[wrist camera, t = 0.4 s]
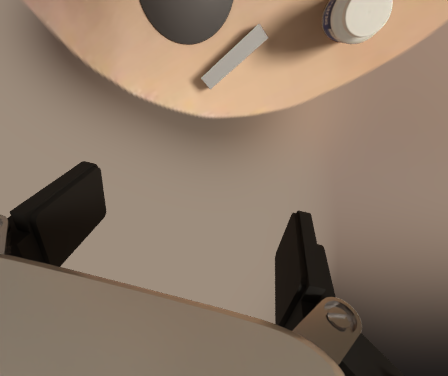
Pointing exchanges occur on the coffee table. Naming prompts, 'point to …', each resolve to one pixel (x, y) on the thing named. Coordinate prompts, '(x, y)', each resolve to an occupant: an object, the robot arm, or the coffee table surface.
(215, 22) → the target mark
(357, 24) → the pill bottle
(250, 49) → the bar
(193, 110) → the coffee table surface
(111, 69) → the coffee table surface
